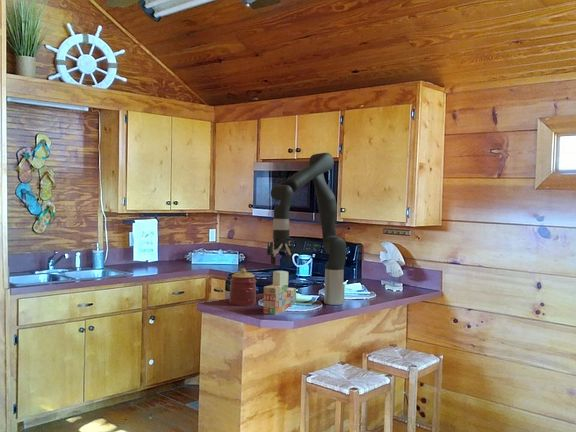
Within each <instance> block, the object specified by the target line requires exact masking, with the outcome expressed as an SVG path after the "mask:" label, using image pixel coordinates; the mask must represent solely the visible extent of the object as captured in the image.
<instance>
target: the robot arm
mask: <svg viewBox="0 0 576 432" xmlns="http://www.w3.org/2000/svg"><path fill="white" fill-rule="evenodd" d="M308 162H309V163H308V166H307V167H306V168H305V167H304V168H303V169H301V170H298V171H297V172H295V173H294V174H293V175H291V176H290V177H289V178H287V179H285V180H283V181H281V182H278V183H276V184H275V185H273V187H272V188H271V190H270V197H271V198H272V199H273V200H275V201H279V205H276V206H274V207H273V222H272V239H273V241H267V248H266V250H267V251H266V255H268V256H270V264H271V265H272V266H276V264H277V263H276V262H277V261H276V260H277V257H276V255H277V254H278V253H279V252H284V253H285V264H287V265H289V264H290V263H291V257H292V255H294V254H295V241H294V240H290V227H291V226H290V225H291V224H290V208H291V205H292V201H293V198H294V193H295V192H297V191H298V190H300V189H301V188H302V187H304V186H305V185H307V184H308V183H310V181H312V180H313V185H314V190H315V195H316V202H317V209H318V213H319V214H318V215H319V219H320V225H321V231H322V235H321V236H322V247H323V250H324V251H325V253H326V254H328V261H327V262H326V263H325V265H324V266H325V267H324V271H325V272H324V300H323V301H324V304H325V305H333V306H334V305H335V306H337V305H338V306H340V305H343V304H345V290H346V289H345V284H344V272H345V271H344V267H345V264H346V259H347V243H346V241H345V240H344V239H343V238H341V237H338V235H337V232H336V231H337V230H336V221H337V215H338V206H337V205H338V204H337V201H336V196H335V194H334V192H333V191H332V189H331V188H330V187H329V185H328V184H327V182H326V179H325V175H324V173H327V172H329V171H330V170H332V169H333V167H334V164H335V161H334V156H333V155H332V154H331V153H330V152H320V153H316V154H315V153H314V154H312V155H311V156H310V157H309V161H308Z"/></svg>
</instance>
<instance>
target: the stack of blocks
mask: <svg viewBox="0 0 576 432" xmlns="http://www.w3.org/2000/svg"><path fill="white" fill-rule="evenodd" d="M262 298H263V309H262V313H263V314H266V315H272V316H273V315H275V316H276V315H279V314H281V313H285V312H286V311H285V310H286V309H287V308H288V307H291V306H292V305H294V304H295V302H296V303H297V288H295V287H289V284H288V285H283V286H278V285H273V283H272V284H269V285H266V286H263V297H262Z"/></svg>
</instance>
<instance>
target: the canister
mask: <svg viewBox="0 0 576 432" xmlns="http://www.w3.org/2000/svg"><path fill="white" fill-rule="evenodd" d="M231 277H232V278H230V279H229V282H230V285H229V299H228V301H229V304H230V305H231V306H237V307H252V306H254V305H256V303H257V299H256V297H257V286H256V283H257V279H255V277H256V275H255V274H253V272H249V271H247V270H246V268H241V269H240V271H237V272H234V273H233V274H231Z"/></svg>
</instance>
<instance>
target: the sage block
mask: <svg viewBox="0 0 576 432" xmlns="http://www.w3.org/2000/svg"><path fill="white" fill-rule="evenodd" d="M272 273H273V274H272V284H273V285H278V286H283V285H288V286H289V271H286V270H285V271H284V270H276V271H275V270H274V271H272Z"/></svg>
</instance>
